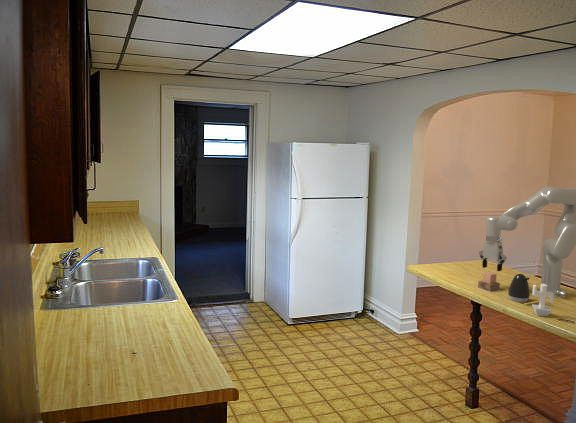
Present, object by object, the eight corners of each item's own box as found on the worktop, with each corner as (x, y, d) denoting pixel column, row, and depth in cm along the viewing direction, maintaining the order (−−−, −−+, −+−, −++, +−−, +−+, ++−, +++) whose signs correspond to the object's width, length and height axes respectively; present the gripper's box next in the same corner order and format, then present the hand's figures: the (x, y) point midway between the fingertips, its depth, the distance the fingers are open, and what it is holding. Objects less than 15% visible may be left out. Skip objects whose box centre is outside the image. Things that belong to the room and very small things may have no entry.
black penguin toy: (519, 306, 255) (522, 277, 253) (503, 300, 265) (505, 272, 263) (533, 304, 259) (536, 275, 258) (517, 298, 269) (519, 270, 267)
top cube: (495, 282, 280) (496, 274, 279) (490, 283, 278) (490, 274, 277) (488, 280, 284) (489, 271, 284) (482, 281, 282) (483, 272, 281)
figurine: (553, 317, 238) (557, 287, 236) (532, 315, 240) (535, 285, 238) (549, 313, 245) (552, 283, 243) (528, 311, 247) (531, 281, 245)
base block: (499, 290, 280) (499, 283, 280) (489, 291, 276) (490, 284, 276) (487, 286, 287) (487, 279, 286) (477, 288, 283) (478, 281, 282)
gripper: (511, 240, 272) (509, 271, 274) (484, 236, 287) (483, 265, 289) (502, 241, 269) (500, 273, 271) (475, 237, 283) (474, 266, 286)
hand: (491, 269), depth 280 cm, fingers open, 9 cm apart
